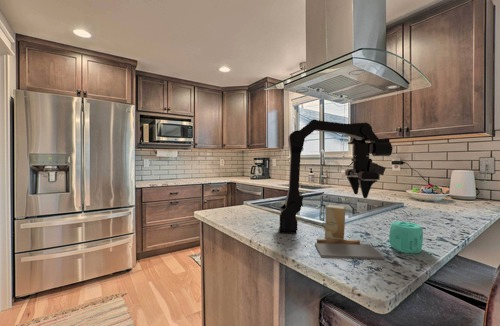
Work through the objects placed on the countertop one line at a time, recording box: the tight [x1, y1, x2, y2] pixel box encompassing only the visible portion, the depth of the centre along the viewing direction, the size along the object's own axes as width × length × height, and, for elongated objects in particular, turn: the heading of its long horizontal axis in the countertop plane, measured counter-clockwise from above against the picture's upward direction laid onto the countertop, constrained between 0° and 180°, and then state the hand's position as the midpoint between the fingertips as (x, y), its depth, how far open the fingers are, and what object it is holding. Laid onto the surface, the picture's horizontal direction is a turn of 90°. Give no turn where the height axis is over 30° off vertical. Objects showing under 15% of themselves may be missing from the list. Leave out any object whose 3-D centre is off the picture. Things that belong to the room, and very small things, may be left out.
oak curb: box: [316, 238, 361, 244], centre depth 81 cm, size 14×1×2 cm, turn 86°
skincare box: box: [324, 204, 346, 240], centre depth 85 cm, size 6×4×12 cm
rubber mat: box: [314, 242, 385, 260], centre depth 75 cm, size 18×10×1 cm, turn 86°
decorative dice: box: [388, 221, 424, 255], centre depth 78 cm, size 8×8×8 cm
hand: (360, 196), depth 93 cm, fingers open, 9 cm apart
